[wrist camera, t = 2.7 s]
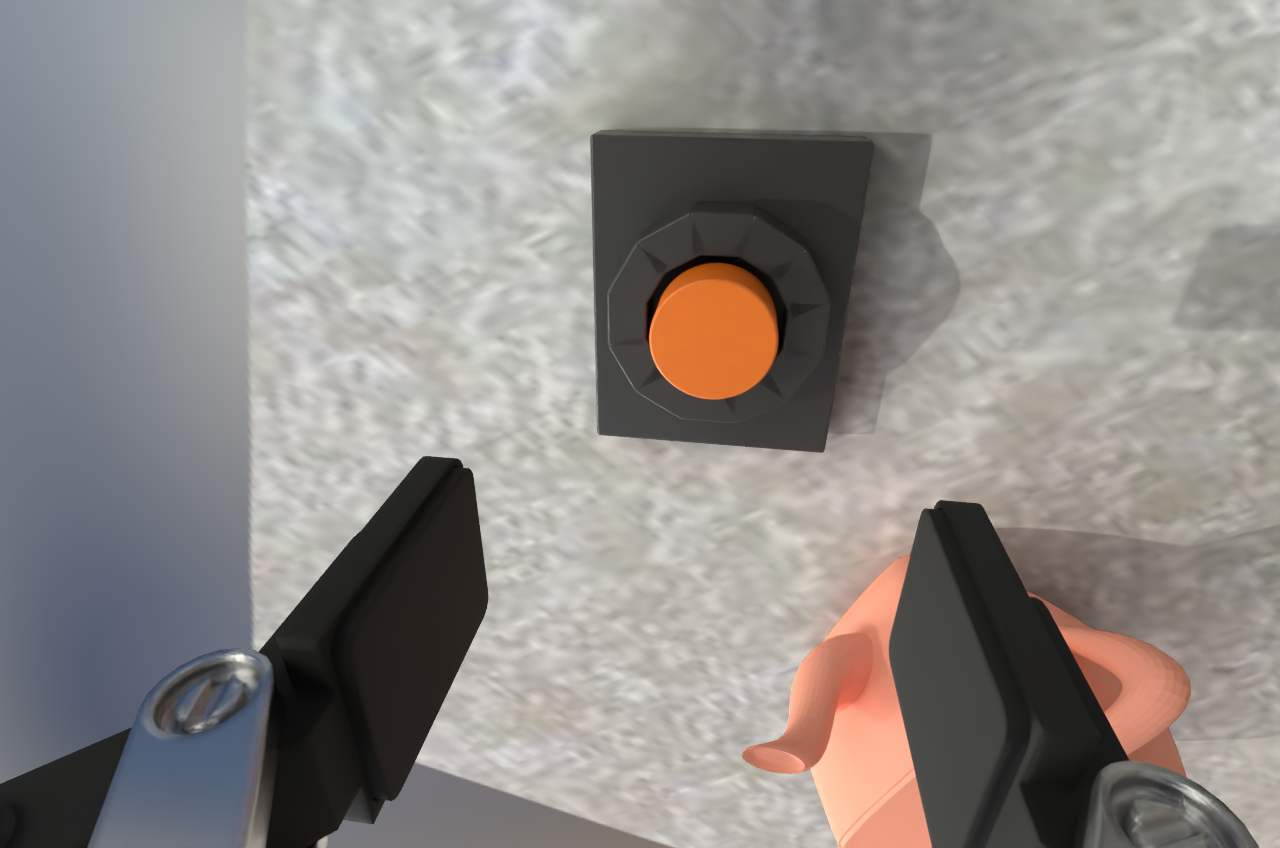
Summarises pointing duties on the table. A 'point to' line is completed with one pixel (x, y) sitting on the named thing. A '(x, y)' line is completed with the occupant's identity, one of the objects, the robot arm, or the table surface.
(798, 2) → the table surface
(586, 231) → the table surface
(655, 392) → the button box
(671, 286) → the orange push button
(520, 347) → the table surface
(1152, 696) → the teapot
